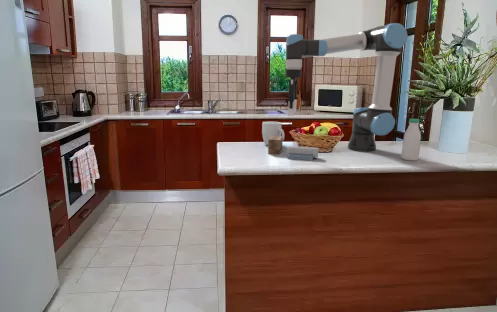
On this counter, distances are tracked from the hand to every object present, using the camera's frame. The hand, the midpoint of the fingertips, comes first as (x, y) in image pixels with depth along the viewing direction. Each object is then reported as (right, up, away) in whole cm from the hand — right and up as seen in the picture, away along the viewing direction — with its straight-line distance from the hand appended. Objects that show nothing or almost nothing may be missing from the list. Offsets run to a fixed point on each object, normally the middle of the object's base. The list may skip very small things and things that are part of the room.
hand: (292, 114), depth 172 cm
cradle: (+5, -21, +4) cm, 22 cm away
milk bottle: (+59, -22, +4) cm, 63 cm away
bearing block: (-7, -18, +16) cm, 25 cm away
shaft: (+6, -20, +3) cm, 21 cm away
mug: (-7, -14, +34) cm, 38 cm away
